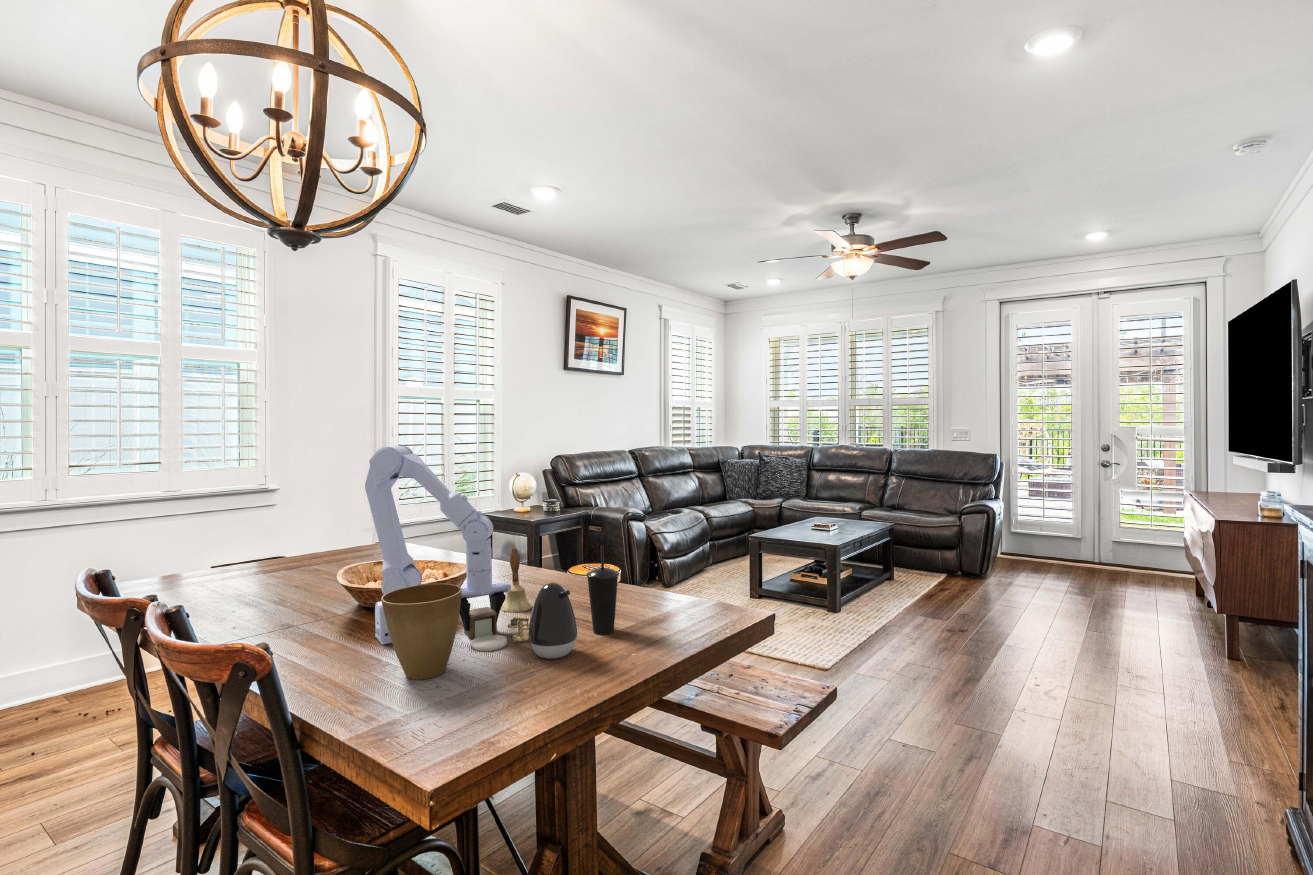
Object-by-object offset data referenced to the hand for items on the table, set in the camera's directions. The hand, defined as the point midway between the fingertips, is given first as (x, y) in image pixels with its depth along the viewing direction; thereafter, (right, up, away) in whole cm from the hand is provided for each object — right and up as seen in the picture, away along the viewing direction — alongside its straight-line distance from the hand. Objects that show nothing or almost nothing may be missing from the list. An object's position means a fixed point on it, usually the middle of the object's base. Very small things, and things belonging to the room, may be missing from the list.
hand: (480, 627), depth 152 cm
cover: (0, -1, 0) cm, 1 cm away
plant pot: (-5, -3, -23) cm, 24 cm away
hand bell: (+4, -1, +21) cm, 22 cm away
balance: (+10, -2, -4) cm, 11 cm away
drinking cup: (+29, -1, +1) cm, 29 cm away
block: (0, -2, 0) cm, 2 cm away
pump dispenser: (+19, -2, -14) cm, 24 cm away
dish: (+4, -2, -8) cm, 9 cm away
